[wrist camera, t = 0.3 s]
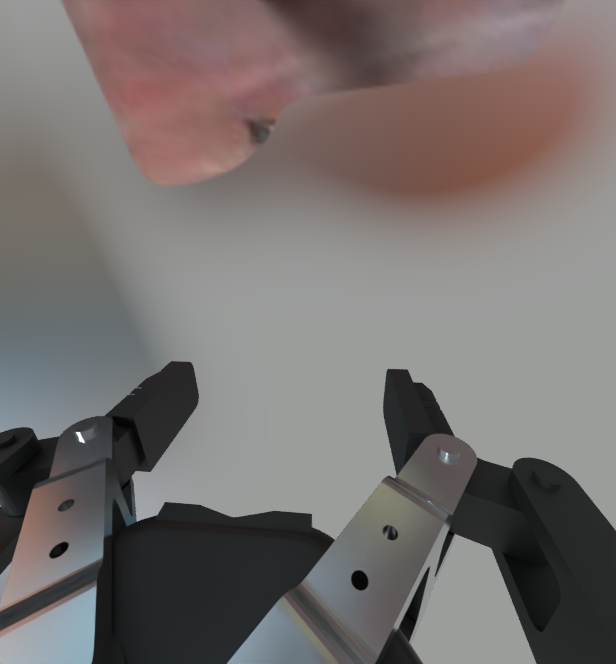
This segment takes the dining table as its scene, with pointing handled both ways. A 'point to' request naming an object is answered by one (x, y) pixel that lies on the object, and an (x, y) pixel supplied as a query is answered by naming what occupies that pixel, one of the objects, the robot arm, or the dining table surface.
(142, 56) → the dining table surface
